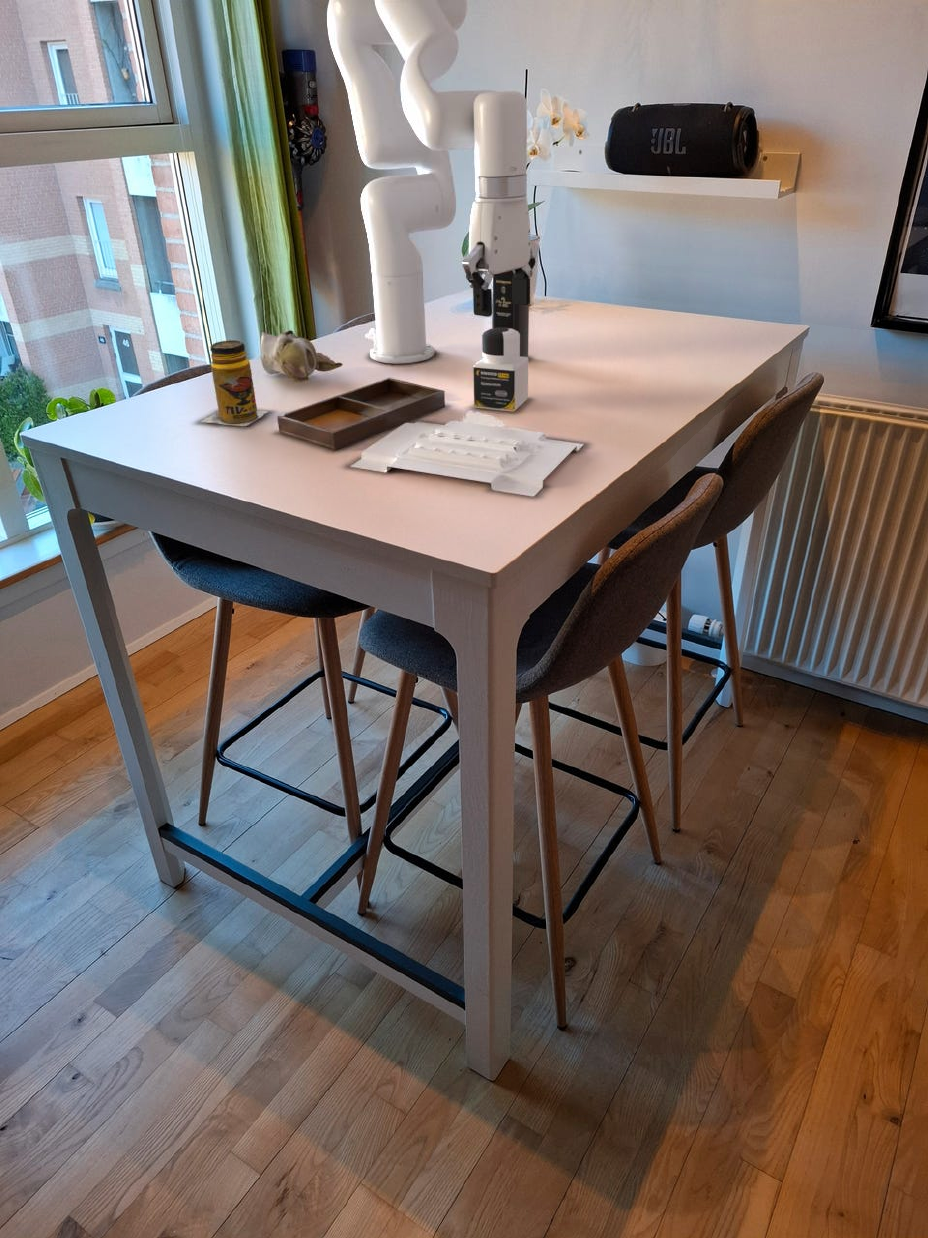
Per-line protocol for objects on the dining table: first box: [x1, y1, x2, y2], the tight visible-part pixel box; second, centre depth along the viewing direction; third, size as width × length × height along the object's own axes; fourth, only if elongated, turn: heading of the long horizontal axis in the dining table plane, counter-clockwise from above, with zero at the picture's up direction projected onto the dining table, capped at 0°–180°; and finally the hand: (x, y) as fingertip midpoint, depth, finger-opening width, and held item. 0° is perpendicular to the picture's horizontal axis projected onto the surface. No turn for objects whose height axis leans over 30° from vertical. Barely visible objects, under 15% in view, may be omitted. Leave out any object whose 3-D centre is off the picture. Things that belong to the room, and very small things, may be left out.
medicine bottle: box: [472, 327, 529, 413], centre depth 144 cm, size 7×7×12 cm
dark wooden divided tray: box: [276, 377, 446, 451], centre depth 141 cm, size 13×25×3 cm, turn 140°
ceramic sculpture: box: [259, 330, 343, 383], centre depth 161 cm, size 11×9×15 cm
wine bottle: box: [491, 270, 530, 358], centre depth 162 cm, size 6×6×30 cm
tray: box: [349, 409, 585, 497], centre depth 127 cm, size 20×28×4 cm
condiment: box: [200, 339, 269, 427], centre depth 141 cm, size 7×8×12 cm
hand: (502, 309), depth 139 cm, fingers open, 9 cm apart
